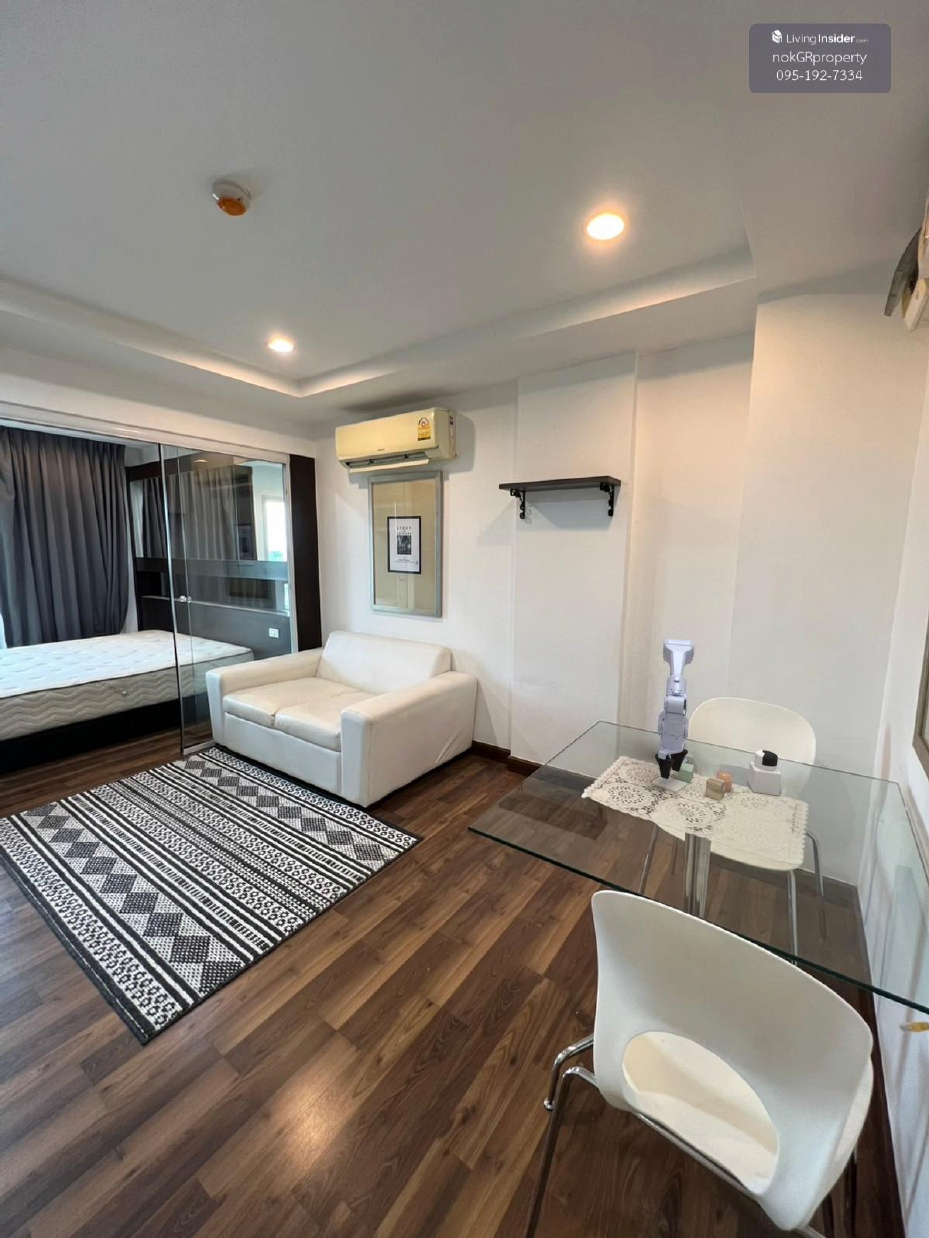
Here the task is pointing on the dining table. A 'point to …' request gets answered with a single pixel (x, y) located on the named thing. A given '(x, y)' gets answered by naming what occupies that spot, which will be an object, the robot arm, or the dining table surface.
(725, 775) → the terracotta cylinder
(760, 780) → the medicine bottle
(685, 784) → the coaster
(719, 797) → the maple block
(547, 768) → the dining table surface
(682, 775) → the green block
